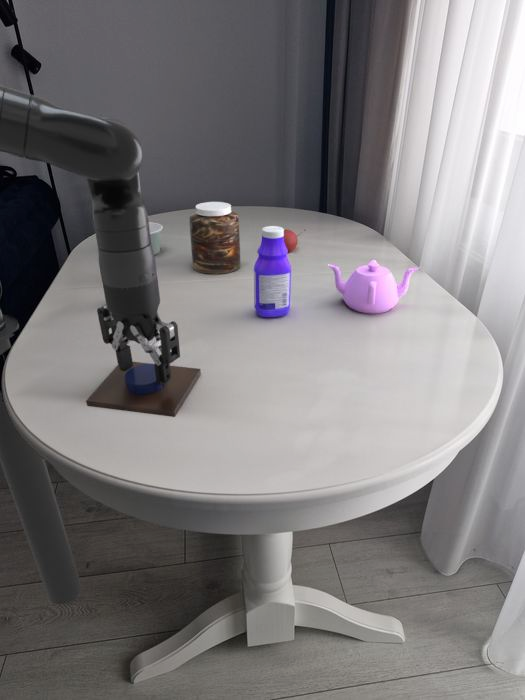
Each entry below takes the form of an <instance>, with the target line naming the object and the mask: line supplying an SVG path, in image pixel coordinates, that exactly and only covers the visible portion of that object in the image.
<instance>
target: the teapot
mask: <svg viewBox="0 0 525 700" xmlns="http://www.w3.org/2000/svg"><path fill="white" fill-rule="evenodd" d="M327 266H328V267H329V268H331V270H332V271H333V274H334V284H335V287H336V290H337V291H338V293H340V295H342V299H343V301H344V302H345V304H346V305H347V306H348V307H349V308H350V309H352V310H353V311H355V312H358V313H362V314H363V313H364V314H383V313H387V312H388V311H390V310H392V309H393V308H394V307H395V306H396V305H397V304H398V302H399V299H400V298H402V297H403V296H405V294H406V293H407V291H408V289H409V285H410V279H411V276H412V274H413V273H414V272H415V271H416V270H419V267H418V266H416V267H410V268H408V269H406V270H405V272H404V275H403V278H402V281H401V283H399V284H397V282H396V279H395V277H394V275H393V273H392V272H391V270H389V268H387V267H385V266H382V265H380V263H378V262H377V261H376V259H371V260H370V261H369V262H368V263H367V264H366V265H360V266H359V267H357V268H356V269H355V270H354V271H353V272H352V273H351V274H350V276H349V277H348V279H347V281H346V282H345V281H344V280H343V279H342V273H341V269H340V267H339V266H337V265H335V264H330V263H327Z"/></svg>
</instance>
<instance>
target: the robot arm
mask: <svg viewBox="0 0 525 700" xmlns="http://www.w3.org/2000/svg"><path fill="white" fill-rule="evenodd" d="M0 153H3V154H7V155H10V156H14V157H18V158H22V159H23V158H24V159H26V160H30V161H35V162H36V161H37V162H42V163H46V164H49V165H51V166H54V167H56V168H59V169H62V170H65V171H68V172H70V173H72V174H76V175H77V176H81V177H84V178H86V181H87V185H88V190H89V194H90V198H91V202H92V203H91V204H92V219H93V220H92V221H93V228H94V233H95V239H96V245H97V250H98V251H97V252H98V266H99V267H98V268H99V272H100V277H101V283H102V288H103V295H104V299H105V303H106V304H104V305H102V306H100V307H98V308H97V309H96V312H97V317H98V322H99V327H100V332H101V336H102V341H103V343H104V344H105V345H108V344H110V345H111V348H112V349H113V351H115V356H116V361H117V365H119V368H120V370H122V371H126V370H128V369H130V368H131V367H132V366H133V362H134V361H133V355H132V350H131V346H130V345H128V344H129V343H130V342H135V343H137V344H139V345H140V346H141V348H142V349H143V351H144V353H146V354H149V356H150V357H151V359H152V361H153V364H154V367H155V375H156V382H157V384H159V385H163V384H165V383H166V382H168V381H169V379H171V371H170V366H171V364H172V363H173V362H175V361H176V360H178V359H180V358H181V350H180V338H179V327H178V324H177V322H176V321H173V320H172V321H170V322H168V323H167V322H164V321H162V319H161V317H160V316H159V313H158V311H159V307H160V304H161V296H160V287H159V280H158V272H157V271H158V270H157V264H156V263H157V262H156V255H154V252H153V248H152V244H151V238H150V230H149V222H150V221H149V216H148V212H147V207H146V204H145V202H144V199H143V196H142V187H141V180H140V169H141V168H142V165H143V157H144V156H143V155H144V154H143V147H142V145H141V142H140V139H139V138H138V136H137V134H136V133H134V131H133V130H132V129H131V128H130V127H129V126H128V125H127V124H126V123H124V122H123V121H121V120H120V119H118V118H116V117H111V116H99V117H97V116H93V115H90V114H86V113H83V112H79V111H76V110H72V109H69V108H64V107H62V106H59V105H57V104H55V102H52V101H50V100H48V99H46V98H43V97H40V96H37V95H34V94H31V93H27V92H25V91H22V90H18V89H14V88H11V87H9V86H5V85H2V84H0ZM2 314H3V312H2V309H1V308H0V331H1V330H2V329H3V328H4V327H5V325H6V324H5V320H4V318H3V316H2ZM110 330H111V333H110ZM153 339H155V342H153V343H152V344H151V343H150V342H151V341H152V340H153ZM157 348H158V350H159V352H160V354H159V352H158V351H157Z"/></svg>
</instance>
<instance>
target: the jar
mask: <svg viewBox="0 0 525 700" xmlns="http://www.w3.org/2000/svg"><path fill="white" fill-rule="evenodd" d="M189 234H190V235H189V236H190V248H191V249H190V250H191V260H192V261H191V262H192V268H193V270H194V271H197V272H200V273H202V274H208V275H223V274H229V273H232V272H236V271H237V270H239V269H240V268H241V236H240V221H239V215H238V213H237V212H235V211H232V204H231V203H228V202H223V201H206V202H201V203H198V204H196V205H195V211H194V212H193V213H191V214H190V215H189Z"/></svg>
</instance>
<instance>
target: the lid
mask: <svg viewBox="0 0 525 700" xmlns="http://www.w3.org/2000/svg"><path fill="white" fill-rule="evenodd" d="M154 364H155V363H150V364H143V365H138V366H135V367H133V368H131V369H130V370H128V371H127V372H126V374H125V385H126V388H127V390H128V391H129V392H131V393H133V394H138V395H146V394H151V393H155V392H157V391H159V390H160V389H162V388H163V387H164V385H165V384H163V385H159V384H157V382H156V375H155V367H154Z"/></svg>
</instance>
